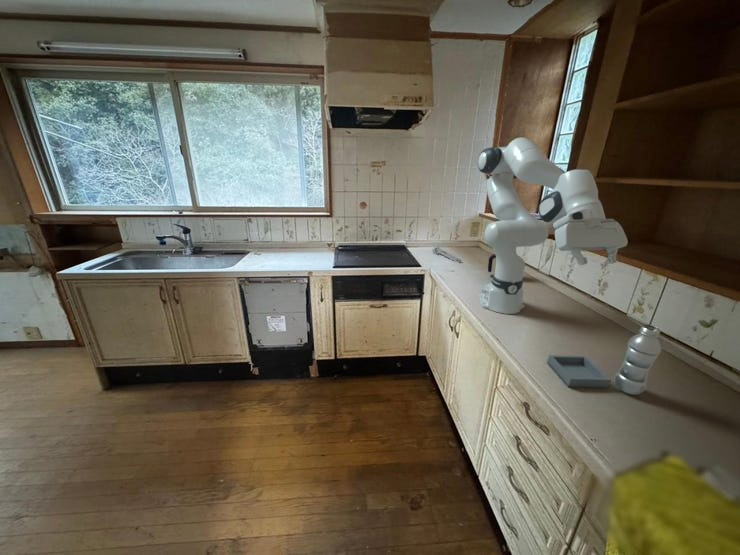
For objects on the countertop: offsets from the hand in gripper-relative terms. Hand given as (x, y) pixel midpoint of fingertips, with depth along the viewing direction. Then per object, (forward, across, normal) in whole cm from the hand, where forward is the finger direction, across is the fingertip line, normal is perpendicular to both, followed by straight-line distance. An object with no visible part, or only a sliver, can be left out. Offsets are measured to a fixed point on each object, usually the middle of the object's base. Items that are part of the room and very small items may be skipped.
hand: (597, 263), depth 84 cm
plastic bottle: (+36, -6, -7) cm, 37 cm away
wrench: (-39, -4, -117) cm, 123 cm away
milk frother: (-13, -18, -78) cm, 81 cm away
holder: (+31, +4, -13) cm, 34 cm away
